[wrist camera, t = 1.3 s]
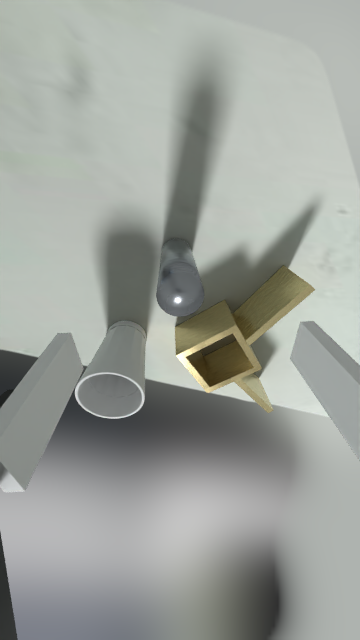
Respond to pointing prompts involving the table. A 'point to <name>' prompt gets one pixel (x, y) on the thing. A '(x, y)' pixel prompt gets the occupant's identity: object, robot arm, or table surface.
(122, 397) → the cup
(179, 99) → the table surface
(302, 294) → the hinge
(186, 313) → the pin
